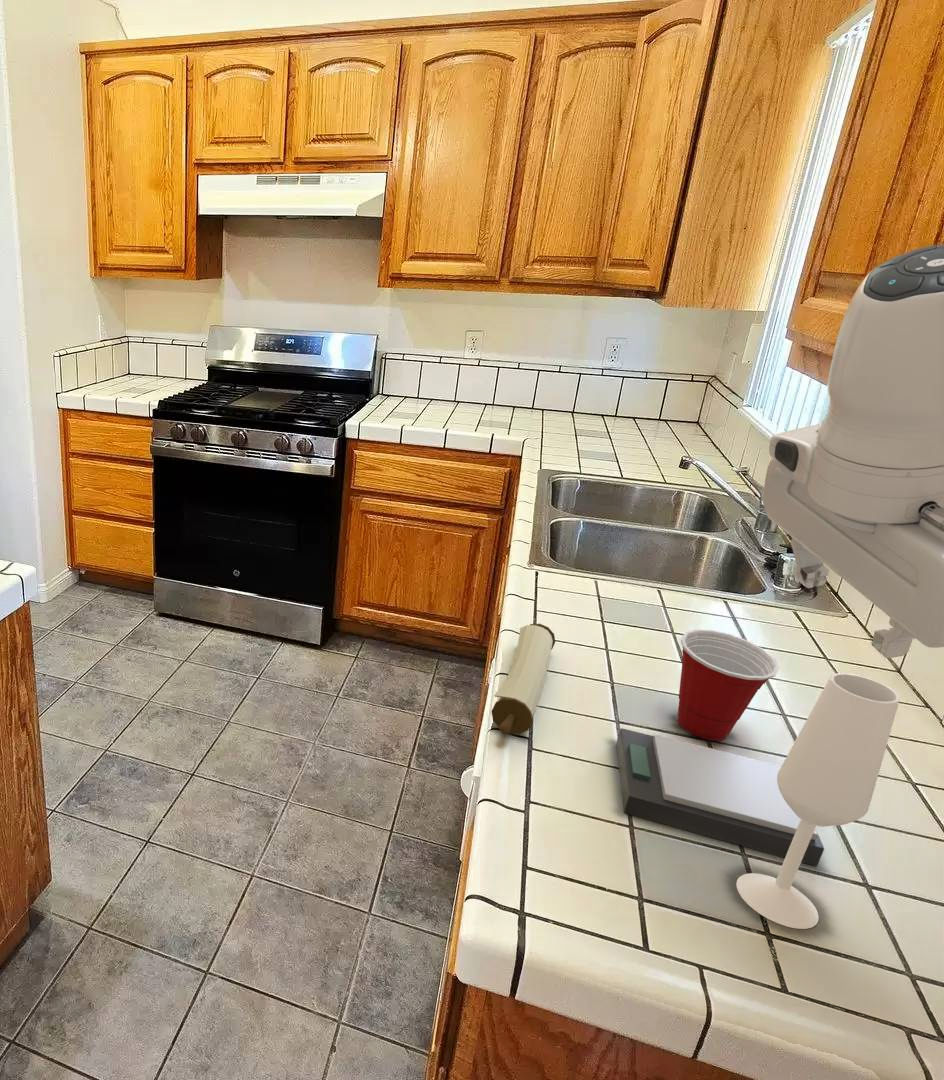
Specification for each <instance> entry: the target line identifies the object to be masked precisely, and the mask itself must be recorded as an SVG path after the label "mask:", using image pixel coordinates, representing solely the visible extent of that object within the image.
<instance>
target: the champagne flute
mask: <svg viewBox="0 0 944 1080" xmlns="http://www.w3.org/2000/svg"><path fill="white" fill-rule="evenodd" d="M900 700H901V697H900V695H899V694H898V692H896V691H895V690H894V689H893V688H891V687H889V686H888V685H886V684H884V683H882V682H879V681H877V680H875V679H872V678H869V677H867V676H863V675H859V674H854V673H848V672H836V673H833V674H831V675H830V676H829V678H828V680H827V682H826V683H825V685H824V688H823V689H822V691H821V693H820V694H819V696H818V698H817V700H816V702H815V703H814V706H813V708H812V709H811V711H810V713H809V715H808V717H807V718H806V720H805V722H804V724H803V726H802V728H801V729H800V730H799V733H798V735H797V737H796V739H795V741H794V742H793V744H792V746H791V748H790V750H789V751H788V753H787V755H786V757H785V759H784V760H783V762H782V764H781V765H782V766H781V768H780V770H779V772H778V774H777V783H778V786H779V790H780V792H781V794H782V796H783V798H784V800H785V801H786V803H787V804H788V805H789V807H790V808H791V809H792V810H793V812H794V813H795V814H796V815H797V816H798V817H799V818H800V819H801V820H800V823H799V825H798V828H797V830H796V833H795V835H794V837H793V840H792V842H791V845H790V847H789V850H788V852H787V855H786V857H785V858H784V860H783V861H782V865H781V867H780V870H779V872H778V874H777V877H773V876H771V875H767V874H764V873H763V874H762V873H756V872H750V873H744V874H742V875H740V876H739V877H738V878H737V880H736V883H735V886H736V890H737V892H738V894H739V896H740V897H741V899H742V900H743V901H744V902H745V903H746V904H747V906H749V907H750V908H751V909H752V910H754V911H755V912H756V913H758V914H759V915H761V916H762V917H764V918H766V919H768V920H769V921H772V922H774V923H775V924H777V925H781V926H784V927H786V928H787V927H788V928H791V929H796V930H797V929H798V930H807V929H811V928H814V927H815V926H817V924H818V922H819V918H820V916H819V913H818V910H817V908H816V906H815V905H814V903H812V901H811V900H810V899H809V898H808V897H807V896H806V895H805V894H803V892H801V891H800V890H799V889H797V888H796V887H794V886H793V885H792V884H793V882H794V880H795V879H796V875H797V873H798V871H799V868H800V866H801V864H802V862H801V861H802V859H803V856H804V854H805V851H806V849H807V847H808V844H809V842H810V839H811V837H812V835H813V832H814V830H815V828H816V827H820V828H821V827H823V828H824V827H835V826H836V827H837V826H845V825H847V824H852V823H854V822H856V821H859V820H860V819H862V818H863V817H865V816H866V815H867V813H868V812H869V810H870V806H871V801H872V798H873V795H874V792H875V788H876V784H877V781H878V777H879V774H880V770H881V767H882V763H883V760H884V757H885V754H886V749H887V745H888V742H889V739H890V735H891V732H892V728H893V725H894V721H895V717H896V714H897V711H898V707H899V703H900ZM816 829H817V828H816Z"/></svg>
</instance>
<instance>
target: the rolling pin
mask: <svg viewBox="0 0 944 1080" xmlns="http://www.w3.org/2000/svg"><path fill="white" fill-rule="evenodd" d="M555 645H556V637H555V633H554V632H553V631H552V630H551V628H550V627H548V626H547V625H544V624H542V623H530V624H526V625H523V626H522V627H520V628H519V635H518V641H517V647H516V650H515V656H514V660H513V663H512V665H511V668H510V670H509V672H508V674H507V677H506V679H505V680H504V682H503V683H502V684H501V686H500V687H499V688H498V689H497V691H496V692H495V693H494V695H493V696H494V698H499V699H498V700H497V701H495V703H494V705H493V707H492V709H491V717H492V721H493V722H494V724H495V725H496V727H498V729H499V732H500V734H503V735H506V734H509V735H522V734H524V733H525V732H528V731H529V730H530V727H532V724H533V722H534V719H533V716H534V714H535V711H536V709H537V706H538V703H539V700H540V698H541V694H542V691H543V687H544V684H545V681H546V677H547V673H548V668H549V664H550V660H551V654H552V650H553V649H554V647H555Z"/></svg>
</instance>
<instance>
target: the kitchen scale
mask: <svg viewBox="0 0 944 1080" xmlns="http://www.w3.org/2000/svg"><path fill="white" fill-rule="evenodd" d="M616 753H617V762H618V771H619V780H620V788H621V789H620V790H621V799H622V807H623V813H624V814H627V815H631V816H635V817H637V818H641V819H645V820H649V821H652V822H656V823H659V824H663V825H666V826H670V827H673V828H677V829H681V830H684V831H688V832H691V833H695V834H699V835H702V836H706V837H709V838H713V839H717V840H719V841H723V842H727V843H730V844H733V845H734V844H735V845H738V846H742V847H745V848H749V849H752V850H756V851H759V852H763V853H766V854H770V855H774V856H776V857H777V856H778V857H781V858H784V859H785V857H786V855H787V852H788V850H789V847H790V845H791V842H792V840H793V837H794V835H795V833H796V830H797V828H798V825H799V823H800V820H801V819H800V818H799V817H798V816H797V815H796V814H795V813H794V812H793V810H792V809H791V808H790V807H789V805H788V804H787V803H786V801H785V800H784V798H783V796H782V794H781V792H780V790H779V786H778V783H777V774H778V772H779V770H780V768H781V766H782V764H778V763H773V762H769V761H764V760H761V759H757V758H754V757H753V758H752V757H748V756H744V755H740V754H736V753H732V752H727V751H724V750H720V749H716V748H711V747H707V746H704V745H699V744H695V743H691V742H687V741H682V740H678V739H675V738H671V737H667V736H662V735H657V734H653V735H650V734H647V733H642V732H638V731H634V730H631V729H627V728H622V727H621V728H620V729H619V733H618V736H617V740H616ZM824 850H825V847H824V845H823V842H822V840H821V838H820V836H819V833H818V830H817V828H815V830H814V832H813V835H812V837H811V839H810V842H809V844H808V847H807V849H806V851H805V854H804V856H803V859H802V861H801V864H802V863H803V864H806V865H810V866H812V867H818V865H819V862H820V860H821V858H822V856H823V853H824Z"/></svg>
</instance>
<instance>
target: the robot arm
mask: <svg viewBox="0 0 944 1080" xmlns="http://www.w3.org/2000/svg"><path fill="white" fill-rule="evenodd" d="M826 384H827V394H828V398H829V406H828V411H827V412H826V415H825V417H824V418H823V419H822V421H821V423H819V424H814V425H809V426H803V427H799V428H795V429H790V430H787V431H783V432H780V433H776V434H773V435H772V436H771V437H770V441H769V446H768V451H769V456H770V457H771V460H770V461H769V463H768V464H767V465H768V466H767V469H766V473H765V478H764V485H763V493H762V505H763V508H764V512H765V514H766V516H767V518H768V519H769V520H770V521H771V522H773V523H774V524H775V525H776V526H778V528H780V529H781V530H782V531H784V532H785V533H786V534H787V535H789V536H790V537H791V539H790V546H791V549H792V552H793V557H794V560H795V564H796V569H795V574H794V578H795V579H796V580H797V582H799V583H800V584H801V585H803V586H804V587H805V588H806V589H813V588H814V587H817V588H819V587H822V586H824V585H826V583H827V581H828V579H827V577H828V576H829V572H830V570H831V571H832V572H834V573H835V574H837V576H839V577H840V578H841V579H842V580H844V581H845V582H846V583H847V584H848V585H850V586H851V587H852V588H853V589H854V590H856V591H857V592H858V593H860V594H861V595H862V596H863V597H865V598H866V599H867V600H868V601H869V602H870V603H871V604H873V605H874V606H875V607H877V608H878V609H879V610H881V611H882V613H884V614H885V615H887V616H888V618H889V622H888V624H889V625H890V626H891V627H890V628H889V629H884V628H883V629H878V630H874V633H873V636H872V637H873V640H872V641H871V644H870V645H871V646H872V647H873V648H874V649H875V650H876V651H877V652H878V653H879V654H881V656H883V657H884V658H886V659H892V658H899V657H903V656H906V655H907V654H909V651H910V648H911V646H912V643H913V640H916V641H918V642H919V643H921V644H922V645H924V647H927V648H931V649H939V648H944V243H943V244H937V245H935V244H933V245H929V246H922V247H920V248H916V249H911V250H910V251H907V252H904V253H903V252H902V253H901V254H899V255H896V256H894V257H892V258H889V259H888V260H885V261H883V262H882V263H880V264H878V265H877V266H876V267H874V268H873V269H872V270H871V271H869V272H868V273H867V274H866V276H865V277H864V278H863V280H862V281H861V283H860V284H859V285H858V287H857V288H856V290H855V293H853V296H852V298H851V299H850V302H849V303H848V306H847V309H846V312H845V313H844V315H843V319H842V322H841V325H840V328H839V330H838V334H837V338H836V342H835V346H834V350H833V354H832V357H831V363H830V368H829V372H828V378H827V383H826Z"/></svg>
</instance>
